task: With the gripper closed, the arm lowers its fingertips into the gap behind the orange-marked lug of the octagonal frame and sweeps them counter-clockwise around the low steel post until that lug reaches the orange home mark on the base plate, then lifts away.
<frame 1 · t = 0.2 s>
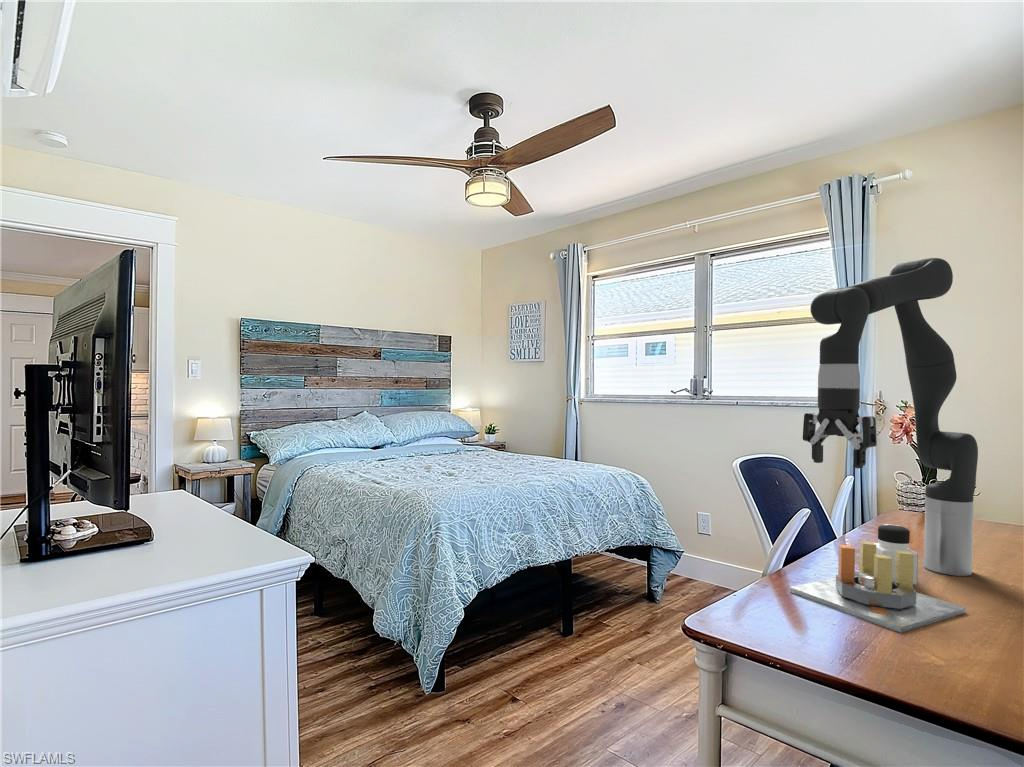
hand: (837, 465, 118), 27 cm above the table, fingers open, 8 cm apart
medicine bottle: (892, 579, 131), on the table
base plate: (874, 601, 116), on the table
octagonal frame: (874, 572, 116), point 6 cm above the table, hinge at 0.0°
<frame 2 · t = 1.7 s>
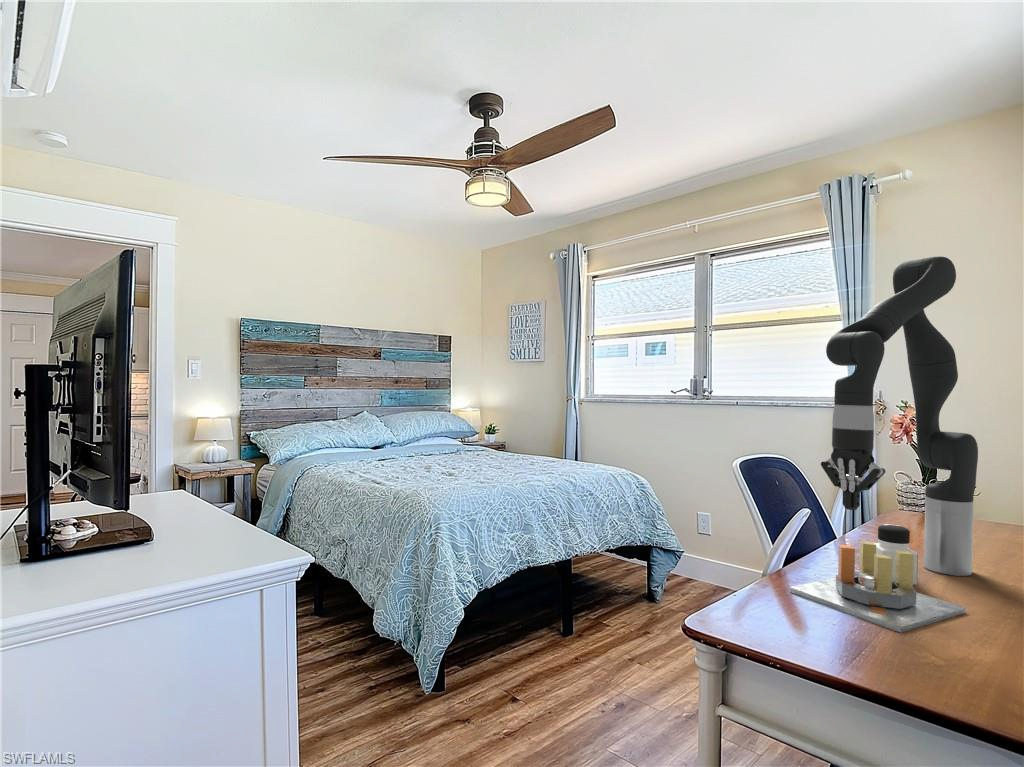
hand: (850, 509, 121), 18 cm above the table, fingers closed
nothing on the table moved.
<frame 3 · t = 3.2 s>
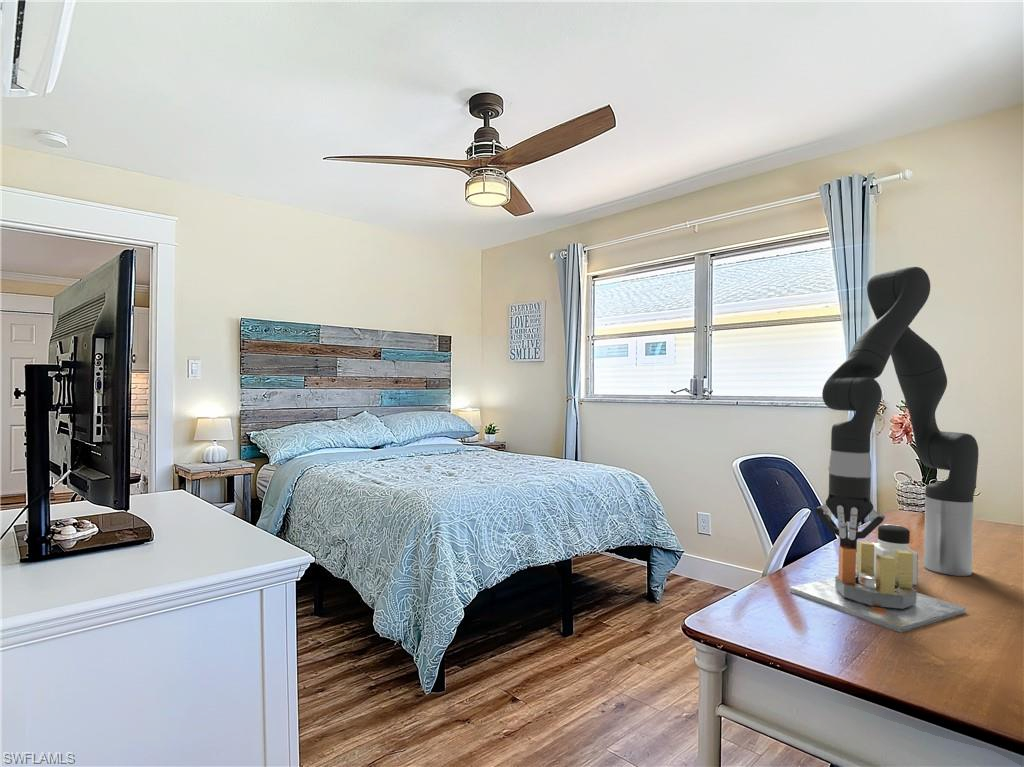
hand: (847, 556, 119), 8 cm above the table, fingers closed
octagonal frame: (874, 572, 116), point 6 cm above the table, hinge at 4.9°, touching gripper
everything else where it was.
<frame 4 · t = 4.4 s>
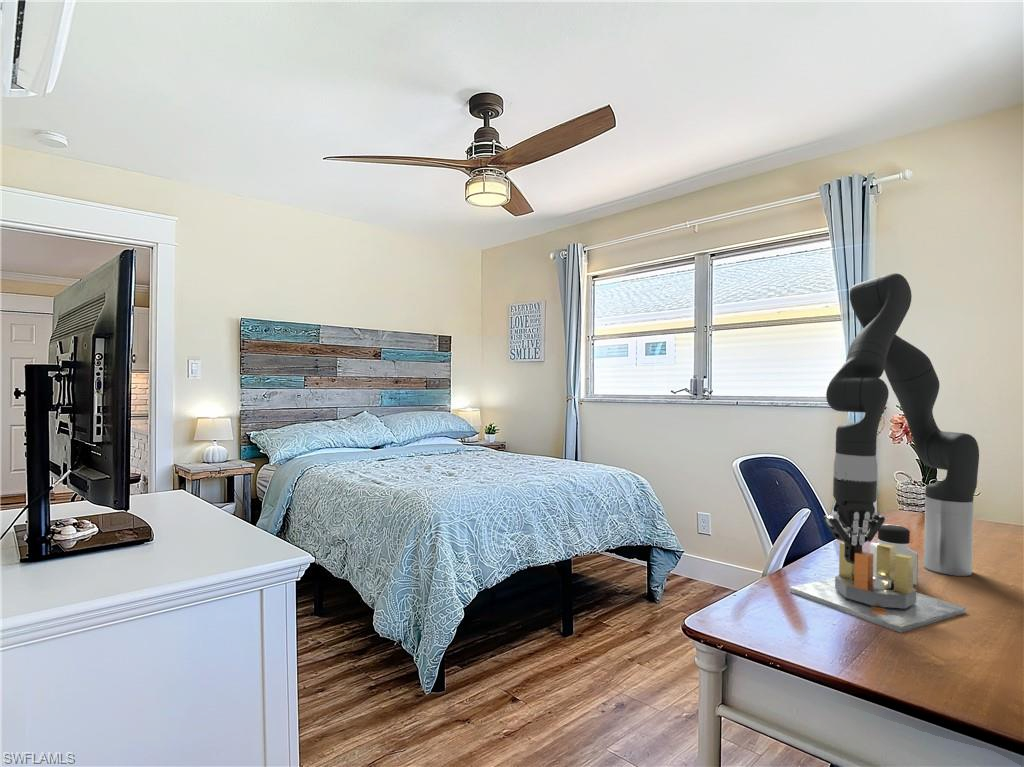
hand: (852, 562, 116), 8 cm above the table, fingers closed
octagonal frame: (874, 572, 116), point 6 cm above the table, hinge at 53.9°, touching gripper
everything else where it was.
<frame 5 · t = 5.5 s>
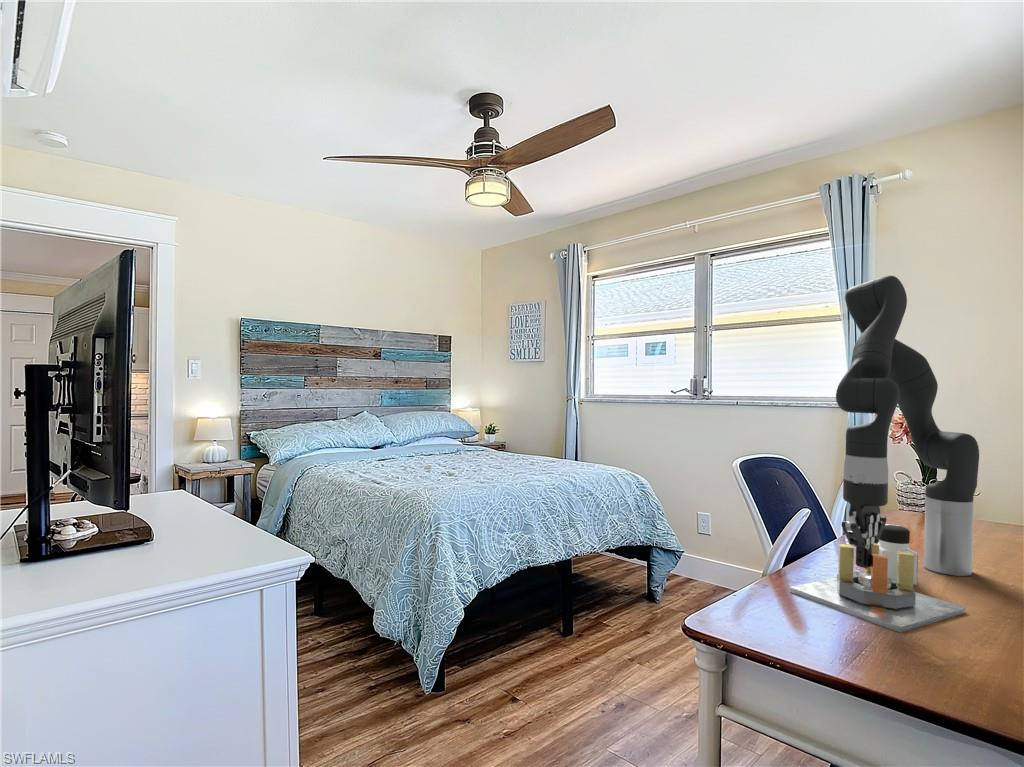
hand: (863, 566, 113), 8 cm above the table, fingers closed
octagonal frame: (874, 572, 116), point 6 cm above the table, hinge at 82.8°, touching gripper
everything else where it was.
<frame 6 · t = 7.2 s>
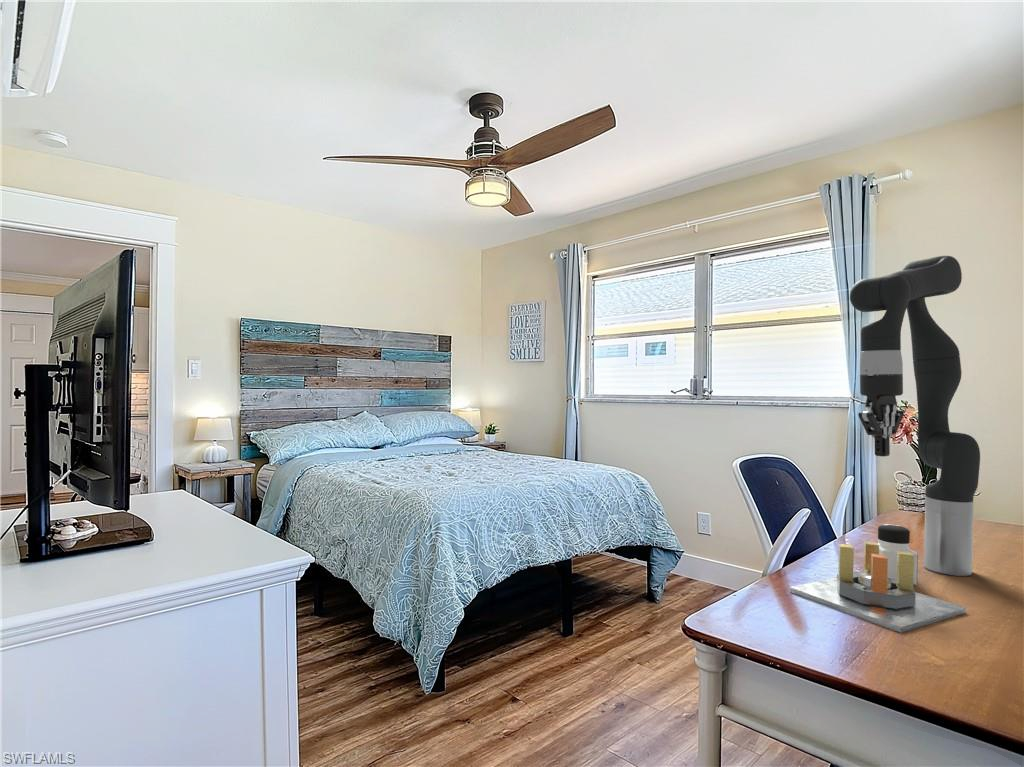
hand: (882, 455, 120), 29 cm above the table, fingers closed
octagonal frame: (874, 572, 116), point 6 cm above the table, hinge at 82.8°
everything else where it was.
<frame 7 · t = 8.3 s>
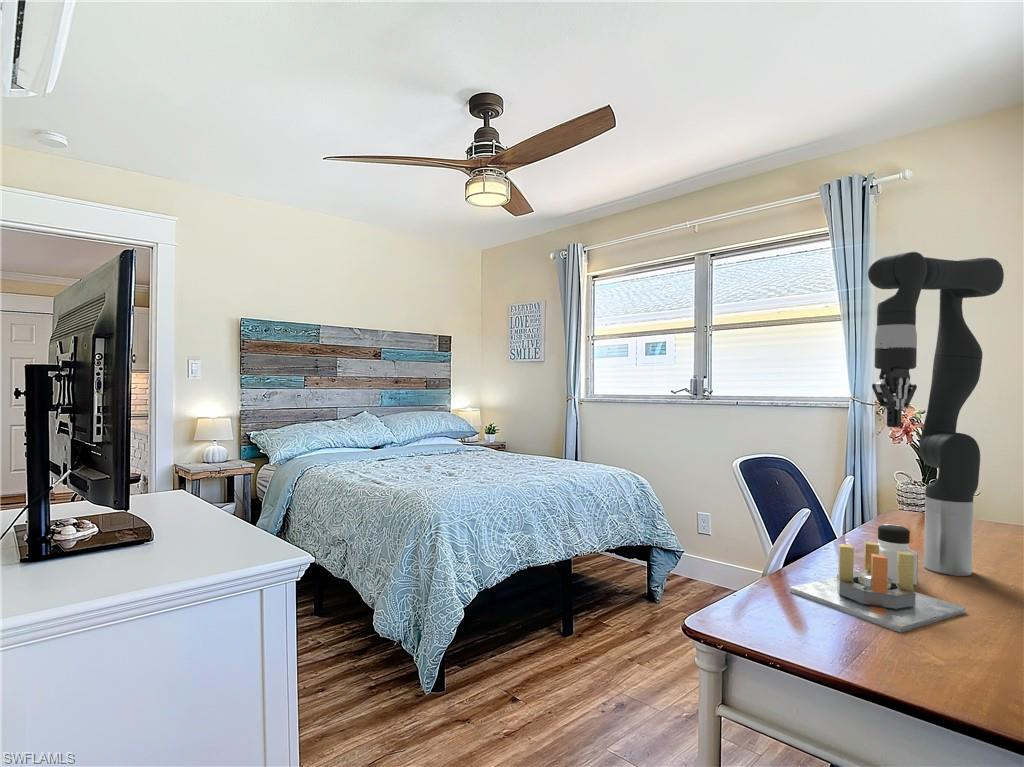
hand: (893, 427, 124), 35 cm above the table, fingers closed
nothing on the table moved.
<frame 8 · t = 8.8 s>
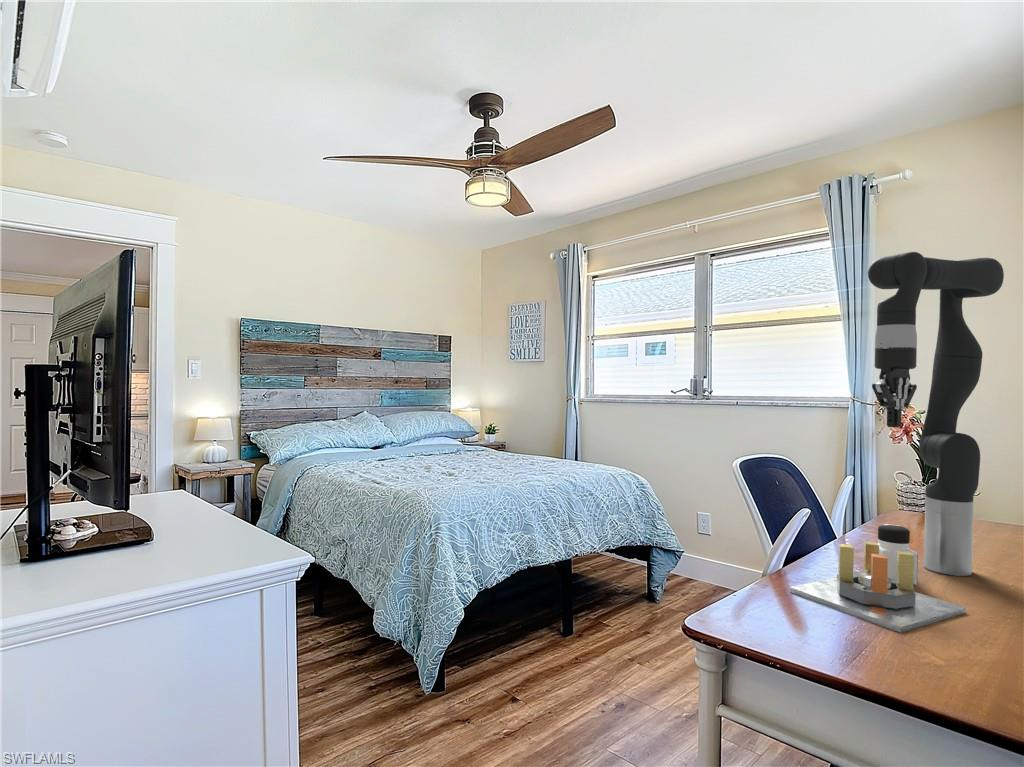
hand: (893, 427, 124), 35 cm above the table, fingers closed
nothing on the table moved.
at the end: octagonal frame at +83° (first picture: +0°); octagonal frame touching nothing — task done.
